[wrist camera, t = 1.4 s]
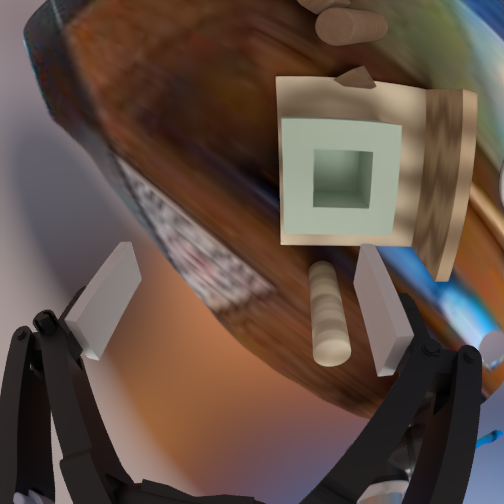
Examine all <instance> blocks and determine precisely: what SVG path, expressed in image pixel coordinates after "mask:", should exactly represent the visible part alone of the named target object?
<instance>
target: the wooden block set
mask: <svg viewBox="0 0 504 504" xmlns="http://www.w3.org/2000/svg"><path fill="white" fill-rule="evenodd" d="M297 1H298V2H299V3H300V5H302V6H303V7H305V8H307V9H308V10H310V11H311V12H313V13H314V14H320V15H319V16H318V18H317V20H316V23H315V29H316V33H317V35H318V37H319V38H320V39H321V40H322V41H323V42H325V43H327V44H329V45H333V46H342V45H348V44H355V43H362V42H370V41H377V40H380V39H382V38H383V37H384V36H385V35H386V33H387V31H388V23H387V21H386V19H385V18H384V17H383V16H382V15H380V14H378V13H376V12H372V11H365V10H357V9H348V8H346V7H347V6H349V5H350V4H351V2H350V1H349V0H297ZM334 81H336V82H338V83H339V84H341V85H342V86H344V87H354V88H364V89H372V88H375V87H376V84H375V83H374V81H373V79H372V78H371V76H370V74H369V73H368V71H367V70H366V68H365V67H364V66H360V67H357V68H354V69H352V70H350V71H348V72H346V73H344V74H342V75H340V76H339V77H337V78H335V79H334Z"/></svg>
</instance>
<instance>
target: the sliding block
mask: <svg viewBox="0 0 504 504" xmlns="http://www.w3.org/2000/svg"><path fill="white" fill-rule="evenodd" d="M281 125H282V156H283V202H284V234H345V235H392V229H393V222H394V215H395V207H396V199H397V190H398V180H399V169H400V155H401V135H402V125H398V124H393V123H389V122H384V121H377V120H367V119H354V118H338V117H311V116H283V117H282V118H281Z"/></svg>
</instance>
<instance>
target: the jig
mask: <svg viewBox="0 0 504 504" xmlns="http://www.w3.org/2000/svg"><path fill="white" fill-rule="evenodd" d="M334 79H335V78H334V77H309V76H278V77H276V94H277V116H278V141H279V174H280V223H281V245H342V246H361V244H374V245H375V246H407V247H412V248H413V250H414V251H415V253H416V254H417V255H418V257H419V258H420V260H421V261H422V263H423V264H424V266H425V267H426V269H427V270H428V272H429V273H430V275H431V276H432V278H433V279H434V281H435V282H442V281H448V280H449V277H450V274H451V270H452V267H453V264H454V260H455V257H456V253H457V249H458V245H459V242H460V238H461V233H462V229H463V225H464V220H465V215H466V210H467V205H468V199H469V194H470V187H471V181H472V173H473V165H474V156H475V145H476V130H477V94H476V93H473V92H470V91H467V90H463V89H430V90H425V89H421V88H415V87H410V86H404V85H398V84H392V83H385V82H377V81H374V83H375V84H376V87H375V88H372V89H364V88H354V87H344V86H342V85H341V84H339V83H338V82H336V81H334ZM283 116H311V117H338V118H354V119H367V120H377V121H384V122H389V123H393V124H398V125H402V135H401V155H400V169H399V180H398V190H397V199H396V207H395V215H394V222H393V229H392V235H345V234H284V202H283V156H282V125H281V118H282V117H283Z"/></svg>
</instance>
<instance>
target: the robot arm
mask: <svg viewBox="0 0 504 504" xmlns="http://www.w3.org/2000/svg"><path fill="white" fill-rule="evenodd" d="M141 280H142V277H141V274H140V271H139V268H138V265H137V261H136V258H135V254H134V251H133V247H132V244H131V242H120V243H119V245H118V246H117V247H116V248H115V250H114V251H113V252H112V254H111V255H110V256H109V257H108V259H107V260H106V261H105V263H104V264H103V265H102V267H101V268H100V269H99V271H98V272H97V273H96V275H95V276H94V278H93V279H92V280H91V281H90V283H89V284H88V286H84V287H83V288H81V289H80V290H79V291H78V292H77V293H76V294H75V296H74V297H73V300H71V302H70V303H69V305H68V306H67V307H66V309H65V310H64V312H63V313H62V315H61V316H60V318H59V319H57V318H56V316H55V314H54V312H53V311H51V310H44V311H41V312H40V313H38V314H37V315H36V316H35V318H34V320H33V325H34V326H35V328H36V330H37V331H38V332H34V333H32V331H31V330H30V328H29V327H28V326H22V327H20V328H18V329H17V330H16V331H15V332H14V334H13V336H12V340H11V344H10V348H9V352H8V356H7V361H6V366H5V371H4V377H3V382H2V388H1V395H0V504H55V482H54V472H53V464H52V447H51V412H52V416H53V421H54V424H55V429H56V433H57V436H58V440H59V443H60V447H61V450H62V453H63V459H62V460H60V469H61V472H62V475H63V478H64V481H65V483H66V486H67V489H68V491H69V494H70V496H71V499H72V501H73V504H265V503H263V502H260V501H256V500H255V499H254V497H246V496H234V495H216V496H202V497H194V496H191V495H189V494H186V493H184V492H181V491H180V490H177V489H175V488H173V487H171V486H169V485H165V484H161V483H156V482H153V481H149V480H145V479H143V481H142V483H134V482H133V480H132V479H131V477H130V476H129V475H128V474H127V473H126V471H125V470H124V468H123V467H122V465H121V463H120V461H119V458H118V456H117V454H116V452H115V450H114V447H113V445H112V443H111V440H110V438H109V436H108V433H107V431H106V428H105V426H104V423H103V421H102V419H101V415H100V413H99V410H98V407H97V404H96V401H95V398H94V395H93V393H92V389H91V386H90V383H89V380H88V377H87V373H86V370H85V366H84V363H83V359H82V358H81V356H80V355H81V353H82V351H84V353H85V354H86V356H87V357H88V358H92V359H96V360H100V358H101V356H102V354H103V352H104V349H105V347H106V345H107V343H108V341H109V339H110V337H111V335H112V333H113V332H114V330H115V328H116V326H117V324H118V322H119V320H120V318H121V316H122V314H123V312H124V310H125V309H126V307H127V305H128V303H129V301H130V299H131V297H132V295H133V294H134V292H135V290H136V289H137V287H138V285H139V283H140V281H141ZM353 283H354V287H355V290H356V294H357V297H358V300H359V304H360V308H361V311H362V315H363V318H364V322H365V326H366V330H367V334H368V338H369V342H370V346H371V350H372V354H373V358H374V362H375V367H376V371H377V376H388V375H393V374H394V372H395V371H396V369H397V368H398V372H399V376H398V378H397V380H396V381H395V383H394V384H393V386H392V388H391V389H390V391H389V393H388V394H387V396H386V397H385V399H384V400H383V402H382V403H381V405H380V406H379V408H378V409H377V411H376V412H375V414H374V415H373V417H372V418H371V420H370V421H369V422H368V424H367V425H366V427H365V428H364V429H363V431H362V432H361V433H360V435H359V436H358V437H357V439H356V440H355V441H354V443H353V444H351V445H350V446H349V447H348V448H347V450H346V452H345V454H344V455H343V456H342V457H341V459H340V460H339V461H338V462H337V463H336V465H335V466H334V467H333V468H332V469H331V470H330V472H329V473H328V474H327V475H326V476H325V477H324V478H323V479H322V480H321V481H320V483H319V484H318V485H317V486H316V487H315V488H314V489H313V490H312V491H311V492H310V493H309V494H308V495H307V496H306V497H305V498H304V499H303V500H302V501H301V502H300V503H299V504H356V503H357V502H358V504H462V503H463V500H464V496H465V493H466V489H467V485H468V481H469V477H470V473H471V468H472V463H473V458H474V453H475V447H476V441H477V433H478V425H479V416H480V405H481V389H482V357H481V354H480V352H479V351H478V350H477V349H476V348H475V347H473V346H471V345H464V346H462V347H461V348H460V349H459V351H458V352H455V351H449V350H444V349H442V347H441V345H440V344H439V343H438V342H437V341H435V340H434V339H431V338H430V336H429V333H428V331H427V329H426V326H425V324H424V322H423V319H422V317H421V316H420V313H419V310H417V306H416V304H415V302H414V300H413V299H412V298H411V297H410V296H409V295H408V294H407V293H403V294H397V292H396V290H395V287H394V285H393V283H392V281H391V278H390V276H389V274H388V272H387V270H386V268H385V265H384V263H383V261H382V259H381V257H380V255H379V253H378V251H377V249H376V247H375V245H374V244H361V247H360V252H359V258H358V263H357V268H356V273H355V278H354V282H353ZM30 365H31V369H30ZM409 425H410V427H409ZM406 445H407V446H406ZM407 451H408V452H407ZM408 458H409V459H408ZM410 472H411V473H410ZM410 477H411V480H410V483H409V479H408V478H410ZM406 489H407V491H406V493H405V496H404V499H403V498H402V494H403V492H404V491H405V490H406Z"/></svg>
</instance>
